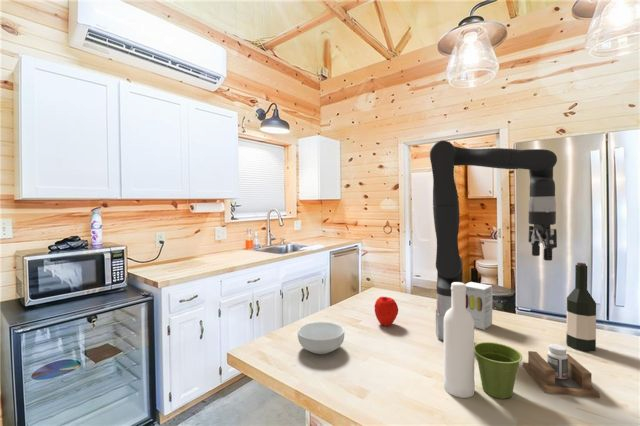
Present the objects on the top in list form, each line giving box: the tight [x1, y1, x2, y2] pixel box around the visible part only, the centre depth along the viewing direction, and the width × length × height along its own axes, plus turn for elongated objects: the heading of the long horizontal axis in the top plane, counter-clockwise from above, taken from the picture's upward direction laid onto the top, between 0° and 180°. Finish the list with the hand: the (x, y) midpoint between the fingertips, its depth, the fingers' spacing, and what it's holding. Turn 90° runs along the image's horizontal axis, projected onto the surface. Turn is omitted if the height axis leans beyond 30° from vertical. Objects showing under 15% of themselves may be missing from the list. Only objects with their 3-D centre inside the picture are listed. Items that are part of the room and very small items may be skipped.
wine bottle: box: [565, 262, 597, 353], centre depth 110 cm, size 8×8×30 cm
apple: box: [374, 296, 399, 327], centre depth 134 cm, size 10×10×12 cm
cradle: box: [522, 350, 601, 398], centre depth 90 cm, size 13×14×6 cm
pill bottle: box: [546, 343, 568, 379], centre depth 91 cm, size 5×5×8 cm
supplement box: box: [464, 281, 493, 331], centre depth 133 cm, size 10×9×17 cm
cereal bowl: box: [297, 321, 345, 355], centre depth 113 cm, size 17×17×7 cm
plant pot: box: [474, 341, 523, 400], centre depth 86 cm, size 12×12×11 cm
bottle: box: [442, 282, 476, 399], centre depth 86 cm, size 8×8×30 cm
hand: (541, 257), depth 105 cm, fingers open, 8 cm apart
